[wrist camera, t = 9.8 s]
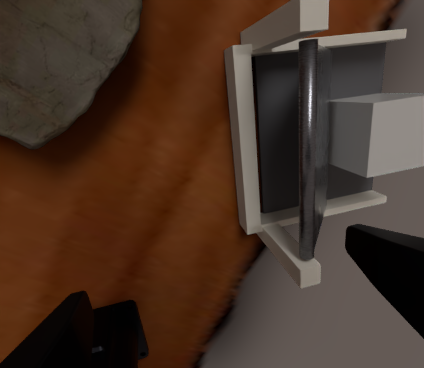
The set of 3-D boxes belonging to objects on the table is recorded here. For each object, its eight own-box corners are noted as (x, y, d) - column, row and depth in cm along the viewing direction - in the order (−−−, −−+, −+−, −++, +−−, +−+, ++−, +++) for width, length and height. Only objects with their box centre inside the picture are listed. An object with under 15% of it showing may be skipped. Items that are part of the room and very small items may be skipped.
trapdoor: (298, 258, 17) (312, 261, 17) (296, 41, 13) (316, 38, 12) (316, 205, 24) (327, 206, 23) (319, 49, 19) (333, 47, 19)
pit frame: (240, 233, 24) (281, 294, 17) (222, 34, 18) (272, -4, 11) (367, 204, 26) (452, 245, 19) (385, 20, 21) (511, -19, 14)
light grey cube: (366, 177, 19) (426, 165, 19) (373, 103, 17) (438, 93, 18) (322, 161, 23) (372, 151, 24) (324, 101, 21) (377, 93, 22)
